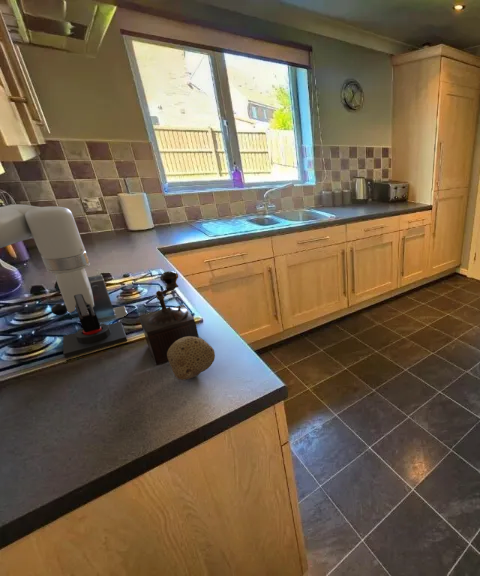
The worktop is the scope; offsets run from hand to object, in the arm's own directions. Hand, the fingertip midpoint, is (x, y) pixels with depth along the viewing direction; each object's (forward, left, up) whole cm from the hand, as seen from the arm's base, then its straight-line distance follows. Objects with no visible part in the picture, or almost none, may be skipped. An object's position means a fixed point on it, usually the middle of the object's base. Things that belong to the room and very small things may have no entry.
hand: (92, 329), depth 84 cm
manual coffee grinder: (+15, -12, -5) cm, 20 cm away
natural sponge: (+16, -29, -5) cm, 33 cm away
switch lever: (-1, +14, +3) cm, 14 cm away
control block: (0, 0, -4) cm, 4 cm away
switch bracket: (+3, +14, -4) cm, 15 cm away
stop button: (0, 0, -2) cm, 2 cm away
